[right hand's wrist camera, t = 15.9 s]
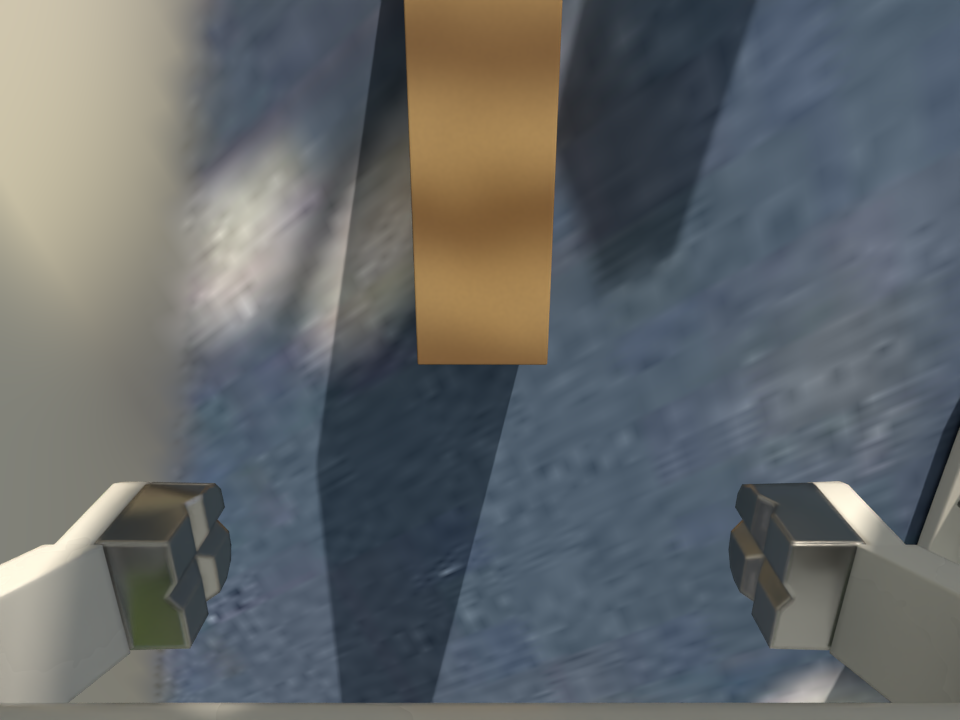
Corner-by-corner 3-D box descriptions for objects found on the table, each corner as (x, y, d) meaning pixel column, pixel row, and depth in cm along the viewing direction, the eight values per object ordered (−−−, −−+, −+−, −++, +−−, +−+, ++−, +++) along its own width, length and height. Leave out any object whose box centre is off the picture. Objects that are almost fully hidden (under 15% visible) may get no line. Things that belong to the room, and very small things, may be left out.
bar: (533, 309, 35) (547, 365, 28) (430, 309, 35) (417, 365, 28) (551, -243, 27) (578, -372, 19) (414, -243, 27) (389, -372, 19)
